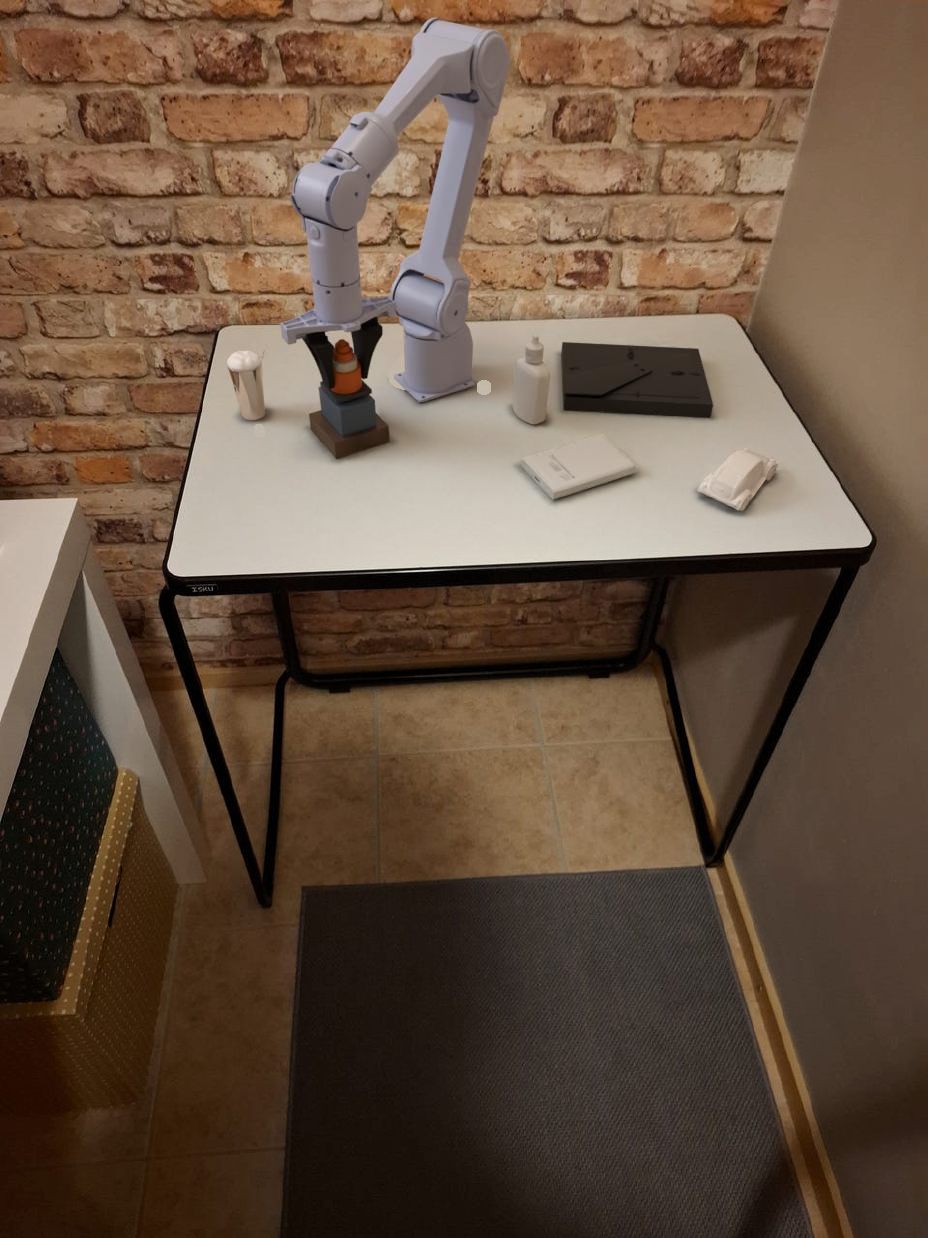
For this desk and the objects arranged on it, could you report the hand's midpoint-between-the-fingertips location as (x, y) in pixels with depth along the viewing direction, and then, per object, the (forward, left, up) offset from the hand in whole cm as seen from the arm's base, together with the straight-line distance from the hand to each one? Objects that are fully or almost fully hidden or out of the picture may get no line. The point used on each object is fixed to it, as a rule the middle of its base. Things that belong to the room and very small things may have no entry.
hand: (345, 380), depth 110 cm
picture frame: (-42, +9, -9) cm, 44 cm away
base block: (0, 0, -8) cm, 8 cm away
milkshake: (+9, -11, -9) cm, 17 cm away
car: (-38, +35, -9) cm, 52 cm away
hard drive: (-22, +22, -9) cm, 32 cm away
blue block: (0, 0, -6) cm, 6 cm away
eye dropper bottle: (-24, +8, -9) cm, 27 cm away
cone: (0, 0, -1) cm, 1 cm away
